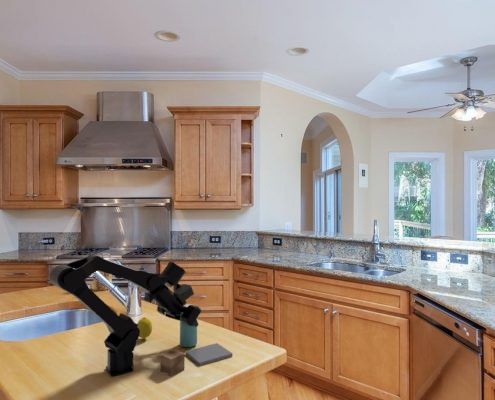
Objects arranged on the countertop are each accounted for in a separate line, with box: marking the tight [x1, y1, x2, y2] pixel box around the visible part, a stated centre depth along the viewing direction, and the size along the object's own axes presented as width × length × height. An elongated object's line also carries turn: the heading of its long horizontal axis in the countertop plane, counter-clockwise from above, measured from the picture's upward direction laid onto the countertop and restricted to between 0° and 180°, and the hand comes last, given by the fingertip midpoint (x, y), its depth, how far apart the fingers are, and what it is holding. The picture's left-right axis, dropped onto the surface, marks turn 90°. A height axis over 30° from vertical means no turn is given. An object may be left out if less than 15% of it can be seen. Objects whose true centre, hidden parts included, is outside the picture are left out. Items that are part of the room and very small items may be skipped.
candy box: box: [93, 270, 113, 291], centre depth 202 cm, size 9×4×15 cm, turn 93°
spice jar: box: [179, 303, 198, 348], centre depth 125 cm, size 6×6×13 cm
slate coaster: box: [184, 342, 233, 366], centre depth 117 cm, size 12×10×1 cm
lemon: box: [136, 316, 153, 340], centre depth 130 cm, size 6×6×8 cm
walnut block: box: [160, 348, 186, 377], centre depth 107 cm, size 5×5×5 cm
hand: (191, 323), depth 126 cm, fingers closed on spice jar, 6 cm apart
